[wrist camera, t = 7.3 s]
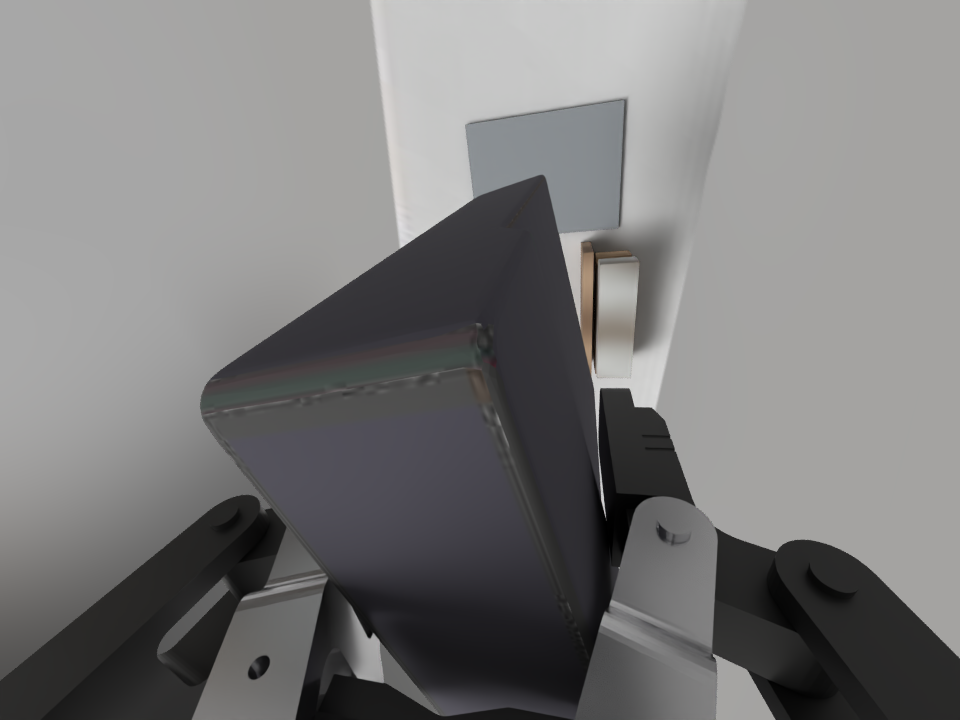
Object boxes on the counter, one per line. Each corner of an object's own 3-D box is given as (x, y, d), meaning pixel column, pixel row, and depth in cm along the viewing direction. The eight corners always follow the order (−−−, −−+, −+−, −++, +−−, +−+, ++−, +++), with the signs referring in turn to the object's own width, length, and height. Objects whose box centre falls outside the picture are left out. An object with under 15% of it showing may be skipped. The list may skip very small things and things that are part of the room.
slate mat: (466, 124, 31) (465, 124, 30) (623, 100, 28) (624, 99, 28) (479, 239, 35) (478, 240, 34) (617, 227, 32) (618, 228, 32)
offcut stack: (594, 249, 33) (600, 264, 29) (628, 246, 33) (639, 262, 28) (592, 355, 38) (596, 384, 34) (622, 355, 38) (630, 383, 33)
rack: (504, 248, 35) (497, 259, 31) (590, 241, 33) (593, 252, 30) (513, 362, 40) (509, 381, 37) (588, 361, 38) (591, 381, 35)
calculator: (462, 200, 17) (126, 406, 4) (559, 166, 15) (481, 331, 3) (527, 399, 22) (458, 773, 9) (606, 388, 20) (654, 817, 8)
